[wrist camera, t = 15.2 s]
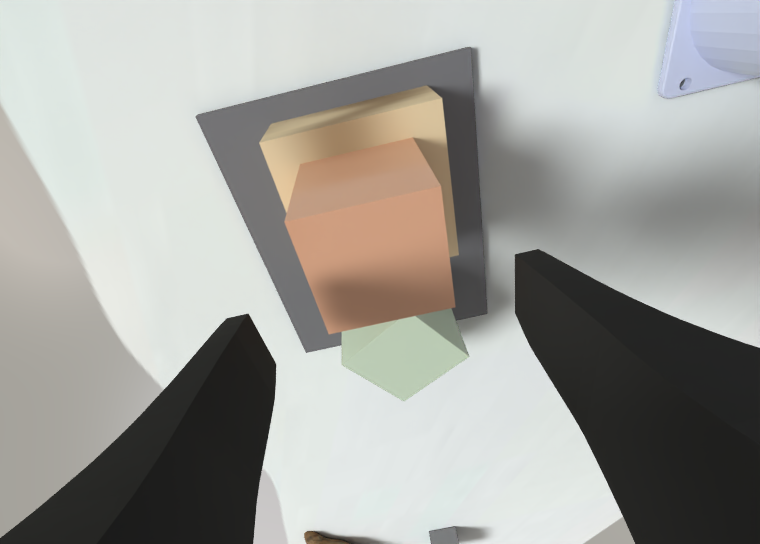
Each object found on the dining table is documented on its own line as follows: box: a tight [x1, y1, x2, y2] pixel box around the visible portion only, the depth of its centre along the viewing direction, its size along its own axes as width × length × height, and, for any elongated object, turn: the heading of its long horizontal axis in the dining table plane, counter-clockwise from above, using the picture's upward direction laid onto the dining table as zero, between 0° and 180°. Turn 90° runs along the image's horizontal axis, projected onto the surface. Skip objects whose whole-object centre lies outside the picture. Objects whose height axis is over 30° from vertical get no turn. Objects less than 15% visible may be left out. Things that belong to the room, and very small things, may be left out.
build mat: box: [196, 47, 487, 353], centre depth 20 cm, size 12×15×1 cm
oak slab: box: [259, 85, 459, 257], centre depth 17 cm, size 7×7×3 cm
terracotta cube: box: [284, 137, 455, 334], centre depth 14 cm, size 4×4×5 cm
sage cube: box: [342, 308, 469, 401], centre depth 21 cm, size 4×4×5 cm
